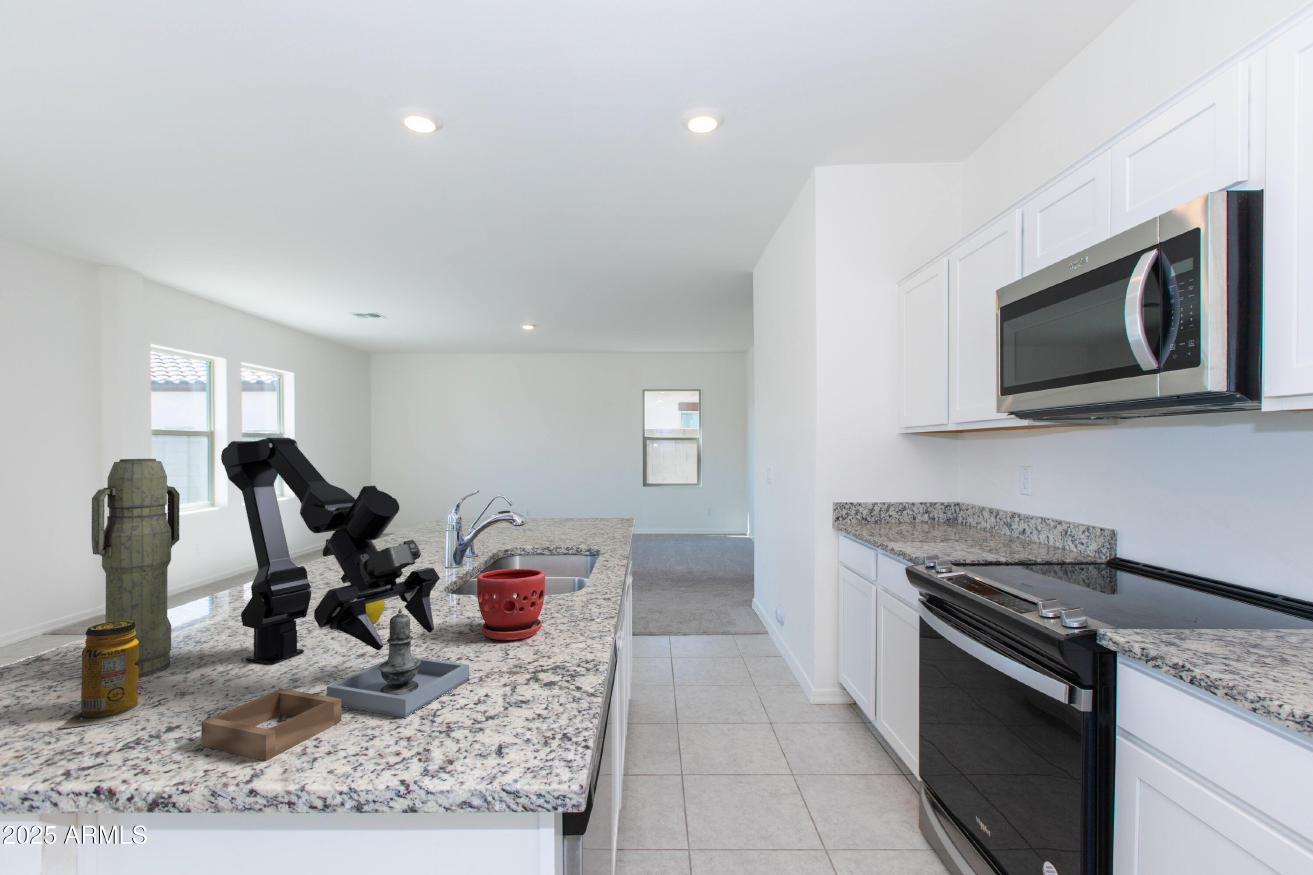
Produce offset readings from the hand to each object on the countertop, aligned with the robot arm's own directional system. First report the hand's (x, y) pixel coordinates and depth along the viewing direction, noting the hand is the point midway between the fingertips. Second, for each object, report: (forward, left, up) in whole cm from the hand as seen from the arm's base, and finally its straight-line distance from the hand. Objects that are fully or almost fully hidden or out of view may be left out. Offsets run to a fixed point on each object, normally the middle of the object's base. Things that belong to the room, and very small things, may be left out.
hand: (407, 639), depth 92 cm
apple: (-32, +25, -8) cm, 42 cm away
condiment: (-35, -19, -8) cm, 41 cm away
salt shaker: (-2, 0, -8) cm, 8 cm away
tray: (-1, 0, -8) cm, 8 cm away
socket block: (-7, -16, -8) cm, 19 cm away
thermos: (-49, -7, -8) cm, 50 cm away
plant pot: (-1, +30, -8) cm, 31 cm away
